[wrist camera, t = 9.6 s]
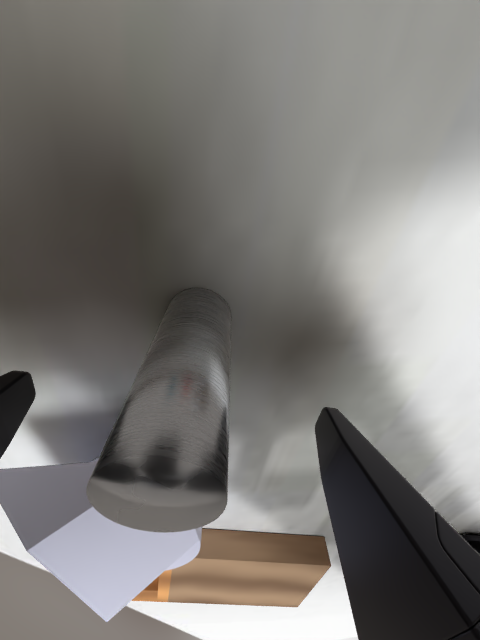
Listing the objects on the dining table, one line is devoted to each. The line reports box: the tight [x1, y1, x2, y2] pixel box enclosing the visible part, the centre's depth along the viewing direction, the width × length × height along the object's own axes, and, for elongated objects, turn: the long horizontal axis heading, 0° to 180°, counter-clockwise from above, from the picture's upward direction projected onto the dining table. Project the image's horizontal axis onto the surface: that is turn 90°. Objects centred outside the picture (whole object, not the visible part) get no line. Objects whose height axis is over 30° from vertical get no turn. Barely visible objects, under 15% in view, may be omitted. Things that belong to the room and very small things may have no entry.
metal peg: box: [86, 288, 232, 533], centre depth 9 cm, size 3×3×8 cm
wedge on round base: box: [0, 458, 202, 622], centre depth 16 cm, size 9×7×13 cm
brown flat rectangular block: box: [131, 529, 331, 607], centre depth 25 cm, size 10×20×2 cm, turn 80°
